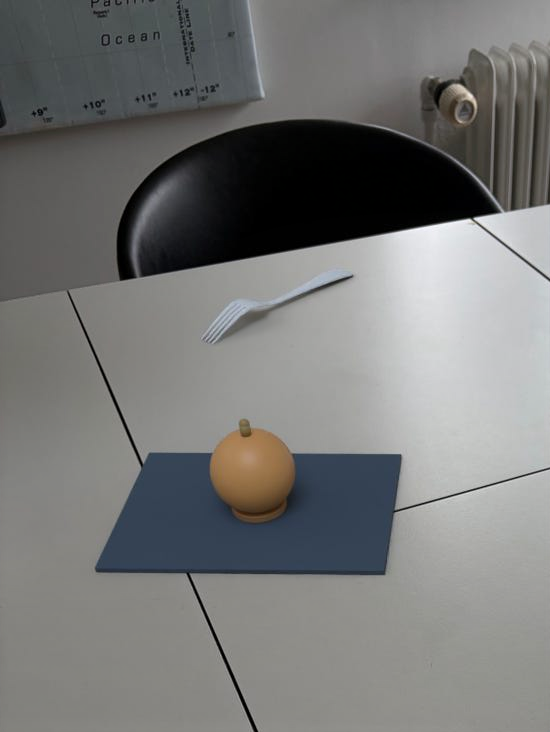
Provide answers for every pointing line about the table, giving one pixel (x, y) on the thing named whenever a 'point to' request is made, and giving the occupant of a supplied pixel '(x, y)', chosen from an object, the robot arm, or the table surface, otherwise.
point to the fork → (249, 304)
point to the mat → (257, 540)
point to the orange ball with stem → (253, 473)
